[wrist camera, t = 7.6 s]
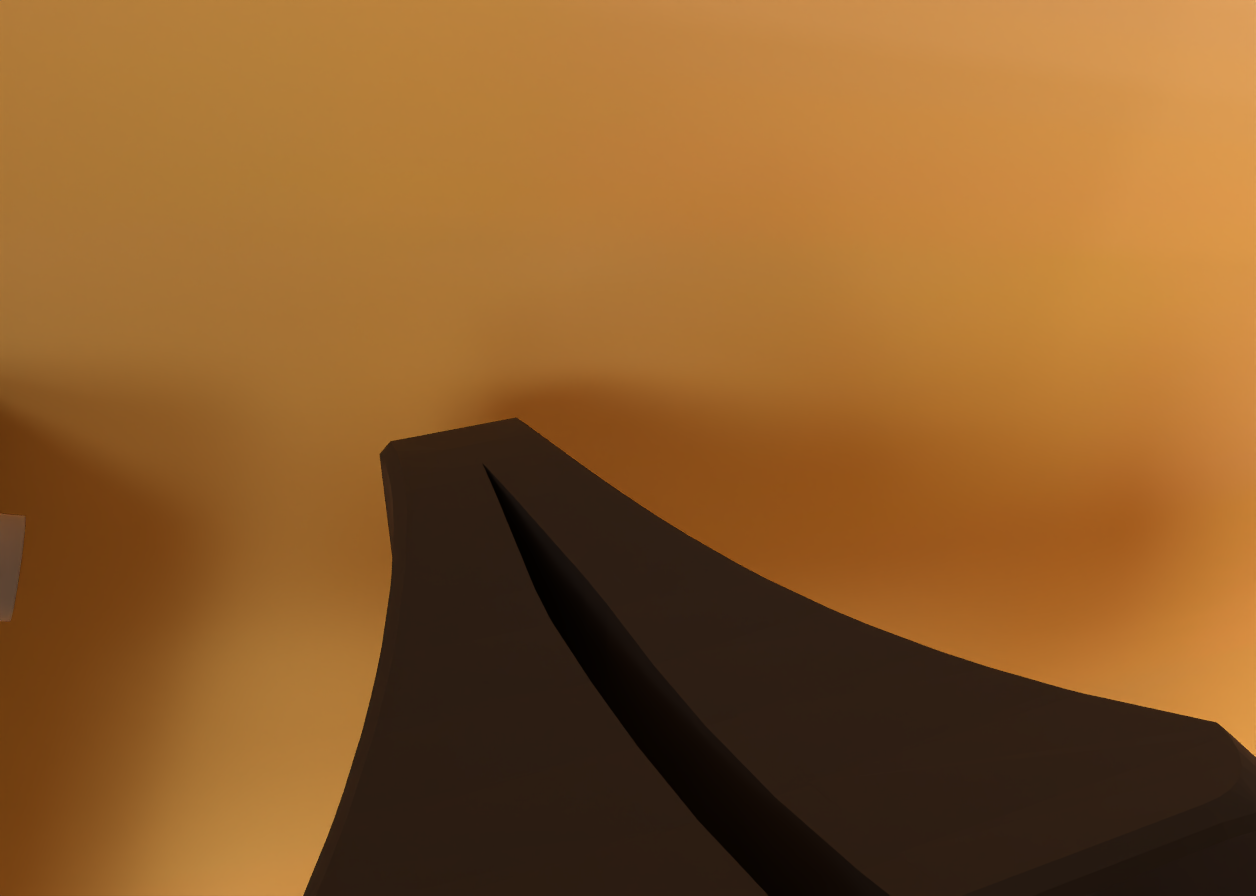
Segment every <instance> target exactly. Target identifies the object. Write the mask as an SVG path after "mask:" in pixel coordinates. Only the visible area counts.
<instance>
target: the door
mask: <svg viewBox="0 0 1256 896" xmlns="http://www.w3.org/2000/svg"><path fill="white" fill-rule="evenodd" d="M25 521H26V517H25V516H22V515H11V514H0V621H10V620H11V617H12V613H13V608H14V603H15V598H16V592H17V586H18V580H19V573H20V567H21V559H22V552H23V543H24V534H25Z"/></svg>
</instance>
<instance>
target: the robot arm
mask: <svg viewBox="0 0 1256 896" xmlns="http://www.w3.org/2000/svg"><path fill="white" fill-rule="evenodd" d="M380 461H381V469H382V478H383V486H384V494H385V502H386V510H387V518H388V526H389V534H390V542H391V550H392V576H391V587H390V594H389V601H388V608H387V615H386V622H385V628H384V635H383V642H382V648H381V653H380V658H379V663H378V668H377V673H376V678H375V682H374V686H373V691H372V695H371V699H370V703H369V707H368V711H367V715H366V719H365V723H364V726H363V730H362V734H361V737H360V741H359V744H358V747H357V750H356V753H355V757H354V760H353V763H352V766H351V770H350V773H349V776H348V779H347V782H346V786H345V789H344V792H343V795H342V798H341V801H340V804H339V806H338V809H337V812H336V815H335V818H334V821H333V823H332V826H331V829H330V832H329V834H328V837H327V839H326V842H325V844H324V846H323V849H322V851H321V854H320V856H319V859H318V861H317V863H316V866H315V868H314V871H313V873H312V876H311V878H310V880H309V883H308V885H307V888H306V890H305V893H304V895H303V896H1256V757H1255V756H1254V755H1253V754H1251V753H1250V752H1249V751H1248V750H1247V749H1246V748H1245V747H1244V746H1243V745H1242V744H1241V743H1240V742H1238V741H1237V740H1236V739H1235V738H1234V737H1233V736H1232V735H1231V734H1229V733H1228V732H1227V731H1226V730H1225V729H1224V728H1223V727H1221V726H1220V725H1219V724H1218V723H1216V722H1211V721H1207V720H1202V719H1198V718H1193V717H1188V716H1184V715H1179V714H1175V713H1170V712H1165V711H1161V710H1156V709H1152V708H1147V707H1143V706H1138V705H1133V704H1129V703H1124V702H1120V701H1115V700H1110V699H1106V698H1101V697H1097V696H1092V695H1087V694H1083V693H1079V692H1075V691H1071V690H1067V689H1063V688H1060V687H1056V686H1053V685H1049V684H1046V683H1042V682H1039V681H1035V680H1032V679H1028V678H1025V677H1021V676H1018V675H1014V674H1011V673H1007V672H1003V671H1000V670H996V669H993V668H990V667H986V666H983V665H980V664H977V663H974V662H971V661H968V660H965V659H962V658H959V657H955V656H952V655H949V654H946V653H943V652H940V651H937V650H934V649H932V648H929V647H926V646H924V645H921V644H918V643H916V642H913V641H910V640H908V639H905V638H902V637H900V636H897V635H894V634H892V633H889V632H886V631H883V630H881V629H878V628H875V627H873V626H870V625H868V624H865V623H863V622H860V621H858V620H856V619H853V618H851V617H848V616H846V615H843V614H841V613H839V612H836V611H834V610H832V609H829V608H827V607H825V606H823V605H821V604H819V603H817V602H814V601H812V600H810V599H808V598H806V597H804V596H802V595H799V594H797V593H795V592H793V591H791V590H789V589H787V588H785V587H782V586H780V585H778V584H776V583H774V582H772V581H770V580H768V579H766V578H764V577H762V576H760V575H758V574H756V573H754V572H752V571H750V570H748V569H746V568H744V567H743V566H741V565H739V564H737V563H735V562H734V561H732V560H730V559H728V558H727V557H725V556H723V555H721V554H720V553H718V552H716V551H714V550H713V549H711V548H709V547H707V546H706V545H704V544H702V543H700V542H699V541H697V540H695V539H693V538H692V537H690V536H688V535H686V534H685V533H683V532H682V531H680V530H678V529H677V528H675V527H674V526H672V525H670V524H669V523H667V522H665V521H664V520H662V519H661V518H659V517H657V516H656V515H654V514H653V513H651V512H650V511H648V510H647V509H645V508H644V507H642V506H641V505H639V504H638V503H636V502H635V501H633V500H632V499H630V498H629V497H627V496H626V495H624V494H623V493H621V492H620V491H618V490H617V489H615V488H614V487H612V486H611V485H609V484H608V483H607V482H605V481H604V480H602V479H601V478H599V477H598V476H597V475H595V474H594V473H592V472H591V471H590V470H588V469H587V468H585V467H584V466H583V465H581V464H580V463H578V462H577V461H576V460H574V459H573V458H572V457H570V456H569V455H567V454H566V453H565V452H563V451H562V450H561V449H559V448H558V447H556V446H555V445H554V444H552V443H551V442H550V441H548V440H547V439H545V438H544V437H543V436H541V435H540V434H539V433H537V432H536V431H534V430H533V429H532V428H530V427H529V426H528V425H526V424H525V423H523V422H522V421H520V420H519V419H518V418H512V419H506V420H501V421H496V422H491V423H485V424H480V425H475V426H469V427H464V428H459V429H454V430H448V431H443V432H438V433H433V434H427V435H422V436H417V437H411V438H406V439H401V440H396V441H391V442H390V443H389V444H388V445H387V446H386V447H385V449H384V450H383V451H382V452H381V453H380Z"/></svg>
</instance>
